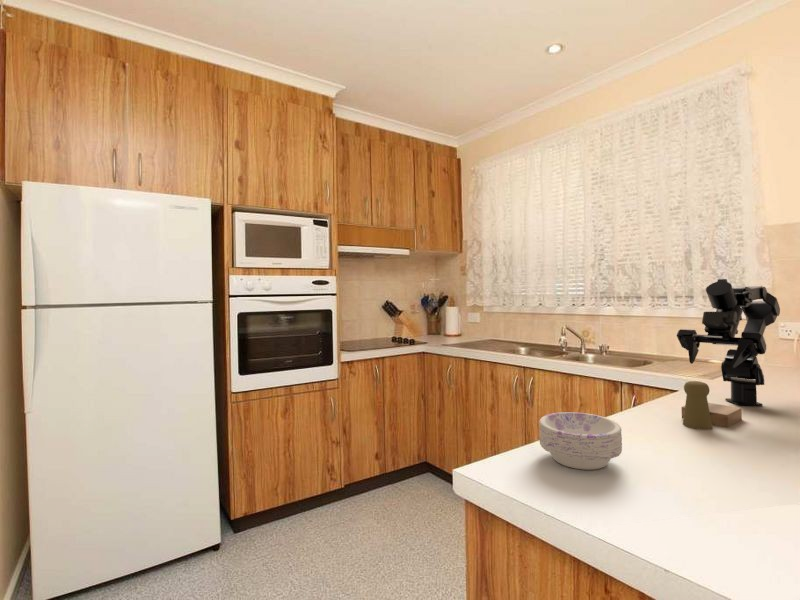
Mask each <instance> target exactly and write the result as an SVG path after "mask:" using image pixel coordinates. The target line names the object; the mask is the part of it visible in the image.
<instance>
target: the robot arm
mask: <svg viewBox="0 0 800 600" xmlns="http://www.w3.org/2000/svg"><path fill="white" fill-rule="evenodd" d="M705 292H706V294H707V298H708V299H709V302H710V305H711V307H712V309H716V310H715V311H704V312H703V314H702V320H701V324H702V325H704V326H705V327H704V332H705V333H707V334H699V333H698V332H697V331H696V329H683V328H681V329H679V330H678V331H677V333H676V337H677V340H678V342H679V344H680V347H681V348H684V349H685V350H686V351H688V358H689V360H688V361H689V364H690V365H693V363H694V362H695V360H696V358H697V355H698V354H699V351H700V350H699V348H700V343H703V344H705V343H706V344H712V345H717V346H719V345H720V346H733V347H736V349H733V348H732V349H731V348H730V349H728V350H727V352H726V356H725V357H724V360H722V362H721V366H720V369H721V376H722V381H723V382H728V383H729V382H730V398H729V397H728V398H724V399H725V401H727V402H728V403H732V404H733V405H737V406H754V407H755V406H759V407H760V406H762V407H763V406H764V405H763V403H761V402H758V398H757V395H758V394H757V393H758V392H757V386H764V385H765V376H764V371H763V369H762V368H761V365H760V364H759V360H758V358H757V357H758V355H764V354H765V353H766V352H767V344H766V339H765V337H764V333H765V330H766V327H767V326H770V325H772V324H774V323H775V322H776V320H777V318H778V316H780V314H781V307H780V304H779V301H778V298H777V297H776V296H774V295H773V294H771V293H770V292H768V290H767V287H765V286H762V285H760V286H756V285H755V286H754V285H753V286H732V284H731V283H730V282H728V279H727V278H720V279H719V278H718V279H717V281H715V282H713V283H711V284H709V285H708V286H706V287H705ZM757 300H758V301H757ZM760 300H762V301H760ZM742 315H744V316H745V319H746V323H745V326H744V329H743V331H742V332H741V337H735V336H736V335H738V334H739V330H738V329H739V328H738V326H739V325H740V321H743V316H742Z"/></svg>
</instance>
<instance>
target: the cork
mask: <svg viewBox="0 0 800 600" xmlns="http://www.w3.org/2000/svg"><path fill="white" fill-rule="evenodd" d="M683 390H684V393H685V394H686V396H685V397H686V399H685V405H684V406H685V411H684V418H682V426H684V427H686V428H689V429H693V430H701V431H702V430H703V431H704V430H705V431H707V430H712V429H713V424H712V423H711V418H710V412H709V406H708V403H709V402H708V395H709V394H710V387H709V385H708V384H707V383H705V382H702V381H698V380H697V381H695V380H694V381H692V380H691V381H686V382H685V383H684V385H683Z"/></svg>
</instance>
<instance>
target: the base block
mask: <svg viewBox="0 0 800 600" xmlns="http://www.w3.org/2000/svg"><path fill="white" fill-rule="evenodd" d="M708 406H709V412H710V418H711V423H712V425H715V426H718V427H724V428H729V427H731V426H733V425H735V424H736V423H739V422H740V421H742V419H743V416H742V415H743V413H742V411H743V410H742V407H739V406H738V407H737V406H732V405H725V404H718V403H714V402H712V403H711V402H708ZM684 411H685V405H683V406H681V419H683V418H684Z"/></svg>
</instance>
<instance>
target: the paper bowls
mask: <svg viewBox="0 0 800 600" xmlns="http://www.w3.org/2000/svg"><path fill="white" fill-rule="evenodd" d="M538 425H539V427H538V428H539V433H538V435H539V445H540V447H541V448H542V449H543V450H544V451H546V452H548V453H549V454H550V455H551V458H552V459H553V460H554V461H556V463H558V464H560V465H563V466H564V467H567V468H571V469H574V470H575V469H576V470H585V471H587V470H588V471H590V470H591V471H592V470H599V469H602V468H604V467H606V466H607V465H608V464H610V463H609V462H610V461H611V459H614V458H617V457H619V456H620V455H621V454H622V451H623V442H622V440H623V437H622V426H620V424H619V423H618V422H616V421H615V420H613V419H611V418H609V417H605V416H601V415H597V414H592V413H585V412H573V411H572V412H571V411H570V412H568V411H565V412H561V411H560V412H554V413H553V412H552V413H548V414H545V415H543V416H542V417H541V418H540V419H539V421H538Z"/></svg>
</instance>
